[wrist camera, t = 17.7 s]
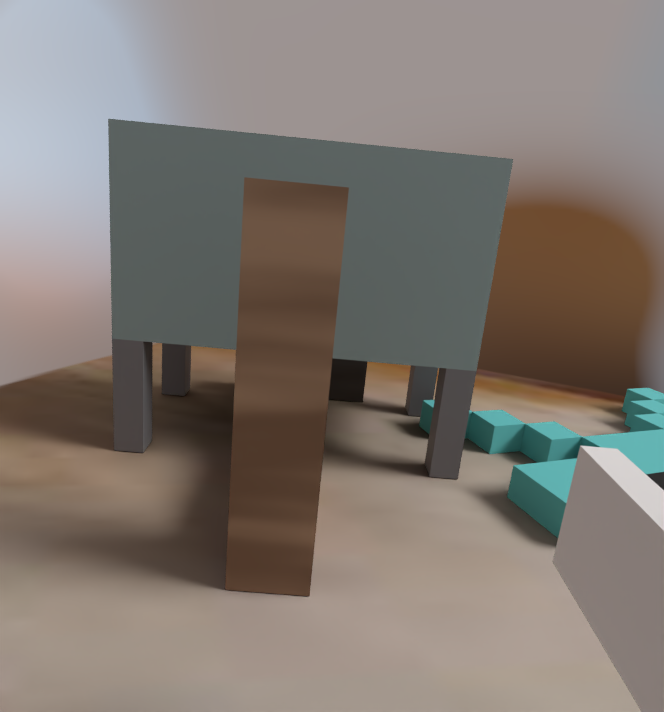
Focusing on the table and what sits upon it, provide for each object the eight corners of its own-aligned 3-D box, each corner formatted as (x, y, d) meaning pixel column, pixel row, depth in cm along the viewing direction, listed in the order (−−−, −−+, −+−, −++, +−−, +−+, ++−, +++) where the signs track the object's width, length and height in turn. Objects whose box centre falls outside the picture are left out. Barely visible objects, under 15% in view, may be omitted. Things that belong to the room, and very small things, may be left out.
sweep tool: (392, 602, 20) (452, 197, 16) (140, 583, 20) (138, 167, 16) (361, 394, 41) (384, 195, 37) (237, 383, 40) (247, 182, 36)
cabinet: (426, 408, 39) (462, 168, 35) (457, 479, 29) (513, 159, 25) (168, 386, 39) (171, 139, 34) (114, 450, 29) (108, 118, 25)
